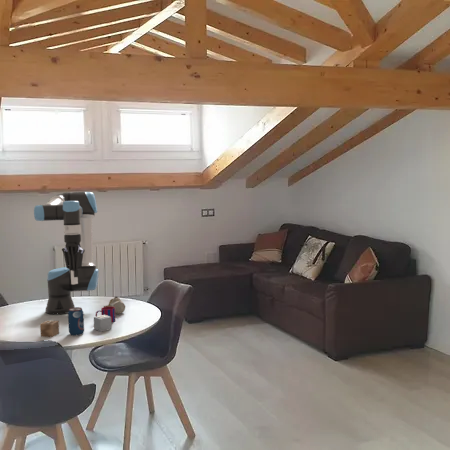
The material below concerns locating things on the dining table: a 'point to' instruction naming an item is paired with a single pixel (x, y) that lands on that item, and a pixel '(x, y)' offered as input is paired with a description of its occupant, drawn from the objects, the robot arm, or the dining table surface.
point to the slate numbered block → (102, 323)
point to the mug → (108, 312)
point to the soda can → (76, 321)
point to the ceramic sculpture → (117, 305)
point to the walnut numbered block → (49, 328)
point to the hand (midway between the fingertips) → (74, 283)
